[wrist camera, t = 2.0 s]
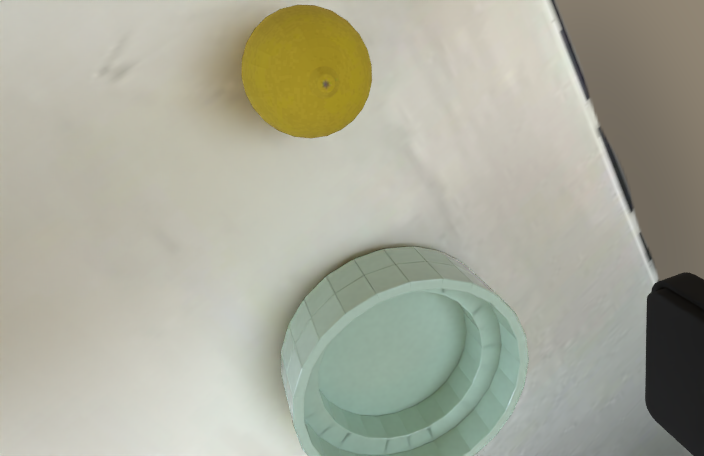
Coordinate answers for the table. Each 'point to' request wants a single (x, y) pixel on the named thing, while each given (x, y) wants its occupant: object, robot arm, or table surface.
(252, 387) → the table surface
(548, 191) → the table surface
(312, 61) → the lemon
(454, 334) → the bowl
